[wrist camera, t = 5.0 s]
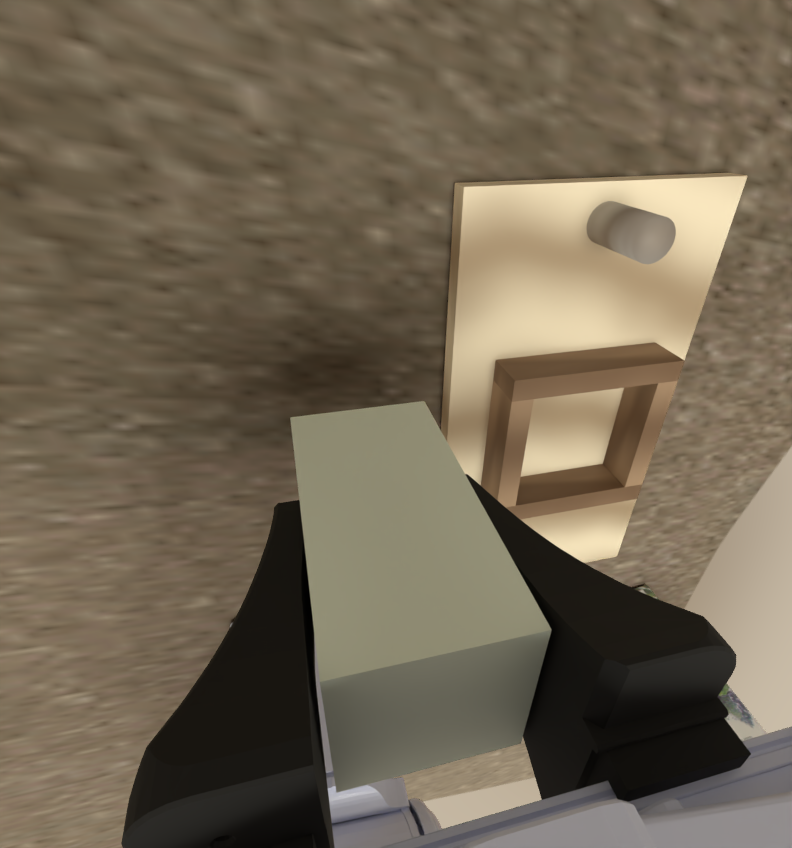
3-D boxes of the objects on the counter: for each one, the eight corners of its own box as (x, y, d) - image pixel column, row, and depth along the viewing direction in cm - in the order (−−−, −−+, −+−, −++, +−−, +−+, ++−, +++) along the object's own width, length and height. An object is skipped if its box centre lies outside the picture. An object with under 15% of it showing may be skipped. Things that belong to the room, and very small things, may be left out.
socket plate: (607, 545, 33) (646, 594, 30) (432, 579, 31) (453, 636, 27) (728, 172, 21) (815, 186, 18) (454, 183, 19) (497, 201, 15)
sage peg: (420, 500, 17) (520, 742, 11) (304, 519, 17) (336, 792, 10) (424, 401, 15) (551, 629, 9) (290, 417, 14) (319, 682, 8)
